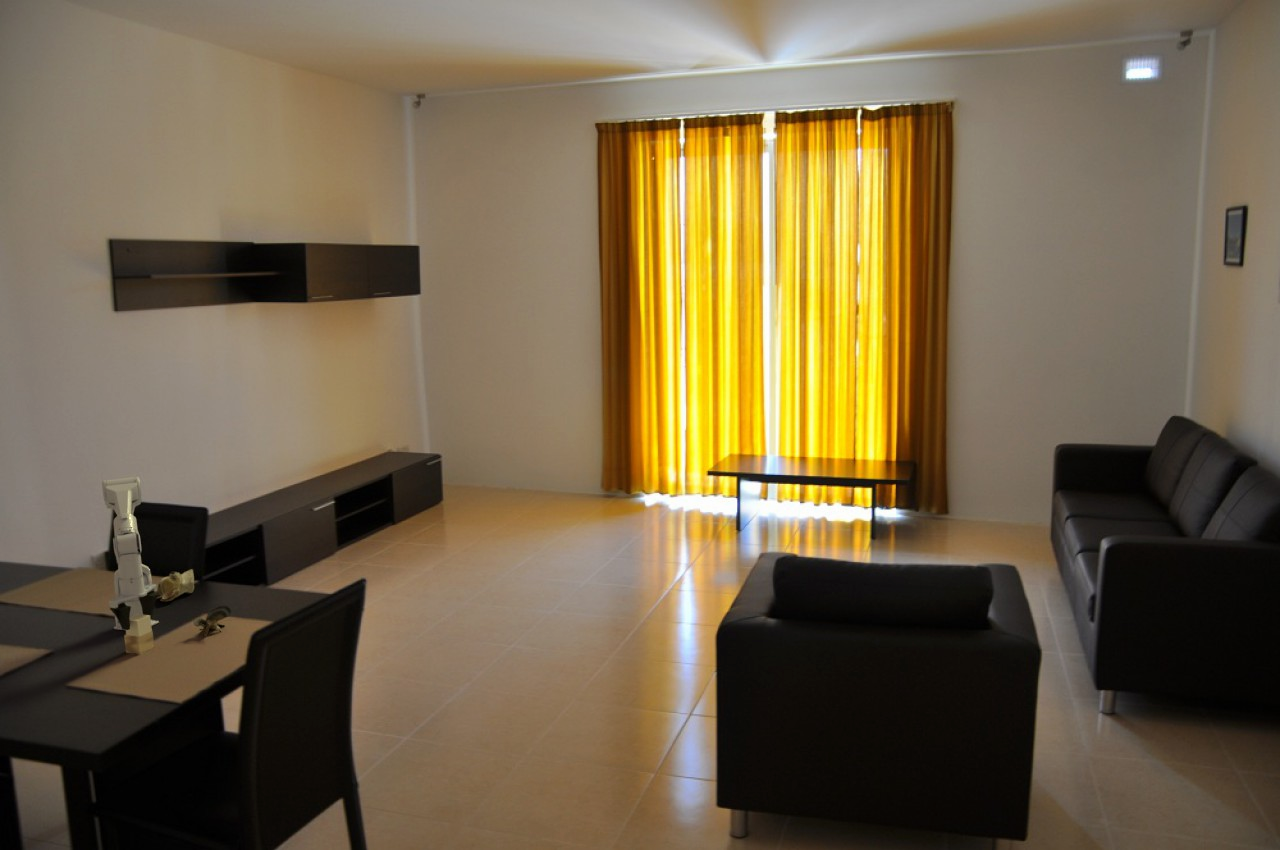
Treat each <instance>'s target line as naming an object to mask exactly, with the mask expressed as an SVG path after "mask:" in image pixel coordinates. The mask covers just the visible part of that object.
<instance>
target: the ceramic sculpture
mask: <svg viewBox="0 0 1280 850" xmlns="http://www.w3.org/2000/svg"><path fill="white" fill-rule="evenodd" d="M194 582H195V576H194V569H193V568H192V569H189V570H187V571H184V572H183V573H180V572H177V571H170V573H169V575H167V576H164V577H162V578H161V579H160V580H159V582H158V584H157V591H155V592H154V593H158V598H160V597H161V598H160V601H161V602H170V601H173V600H174V599H175V598H178V597H179V596H180V595H183V594H184V593H185V594H191V593H193V592H194V590H195V584H194Z"/></svg>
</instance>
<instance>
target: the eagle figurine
mask: <svg viewBox="0 0 1280 850" xmlns="http://www.w3.org/2000/svg"><path fill="white" fill-rule="evenodd" d="M231 614H232V609H231V608H230V607H229V606H228V605H219V606H218V607H216V608H213V609H211V610H210V611H208V614H207V615H206V617H205V618H206V619H204V618H202V617H198V618H197V619H195V620H193V625H194V626H195V627H202V628H199V631H202V632H203V634H204V635H203V637H204V636H205V637H207V635H208V634H209V631H210V630H216V631H218V632H220V631H221V632H222V629H221V627H220V626H223V624H222V623H220V622H219V621H221V620H224V619H227V618H229V617H230V616H231Z"/></svg>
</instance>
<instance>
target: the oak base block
mask: <svg viewBox="0 0 1280 850" xmlns="http://www.w3.org/2000/svg"><path fill="white" fill-rule="evenodd" d="M123 637H124V646H125V652H126V654H133V653H137V654H136V655H142V654H144V653H146V652H145V651H147V650H149V649H151V650H153V649H154V648H155V643H154V642H155V641H154V632H153V630H152V631H151V632H149V633H146V634H144V635H142V636H140V637H136V636H129V635H126V634H124V635H123ZM153 647H154V648H153ZM152 648H153V649H152ZM149 651H150V650H149ZM143 652H144V653H143ZM147 652H148V651H147ZM141 653H142V654H141Z"/></svg>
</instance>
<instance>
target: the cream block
mask: <svg viewBox="0 0 1280 850" xmlns="http://www.w3.org/2000/svg"><path fill="white" fill-rule="evenodd" d="M152 628H153V626H151V619H150V615H142V614H136V615H134V616H131V617H130V629H129V630H125V635H129V636H136V637H140V636H142V635H144V634H146V633H149V632H151V631H153V629H152Z"/></svg>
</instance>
